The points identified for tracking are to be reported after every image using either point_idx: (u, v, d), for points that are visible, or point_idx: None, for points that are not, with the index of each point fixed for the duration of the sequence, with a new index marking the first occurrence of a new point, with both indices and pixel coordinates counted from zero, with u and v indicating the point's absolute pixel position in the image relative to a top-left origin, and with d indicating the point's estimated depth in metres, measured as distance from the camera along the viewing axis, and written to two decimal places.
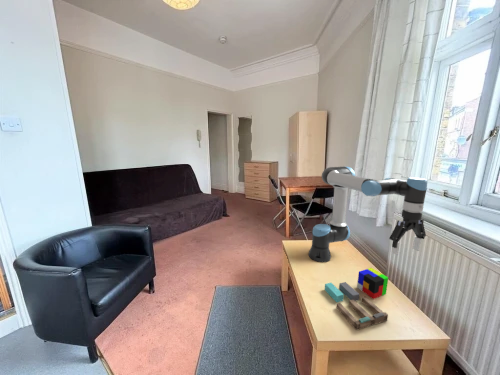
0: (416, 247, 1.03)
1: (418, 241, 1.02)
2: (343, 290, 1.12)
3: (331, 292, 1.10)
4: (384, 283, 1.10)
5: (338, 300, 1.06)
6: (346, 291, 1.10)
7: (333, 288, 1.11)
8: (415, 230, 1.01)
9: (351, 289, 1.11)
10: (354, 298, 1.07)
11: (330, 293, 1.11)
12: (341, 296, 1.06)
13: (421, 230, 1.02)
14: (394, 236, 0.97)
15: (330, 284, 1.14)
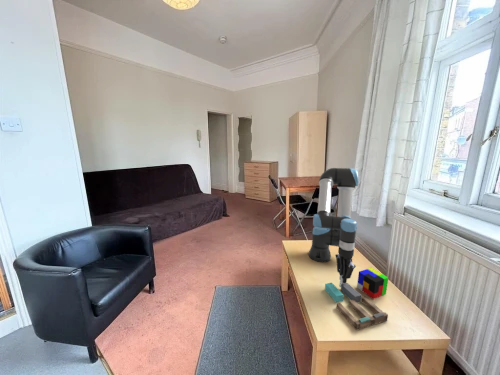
0: None
1: None
2: (345, 291, 1.11)
3: (331, 292, 1.10)
4: (384, 283, 1.10)
5: (338, 300, 1.06)
6: (348, 292, 1.09)
7: (333, 288, 1.11)
8: None
9: (353, 290, 1.10)
10: (356, 299, 1.06)
11: (330, 293, 1.11)
12: (341, 296, 1.06)
13: None
14: None
15: (330, 284, 1.14)
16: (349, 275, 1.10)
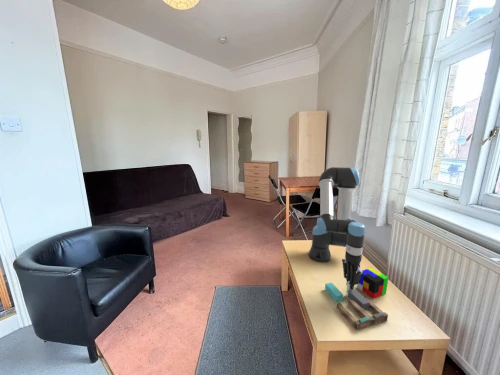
0: None
1: None
2: (353, 298, 1.06)
3: (331, 292, 1.10)
4: (384, 283, 1.10)
5: (337, 300, 1.06)
6: (356, 299, 1.04)
7: (333, 288, 1.11)
8: None
9: (360, 296, 1.05)
10: (364, 307, 1.01)
11: (330, 293, 1.11)
12: (341, 296, 1.06)
13: None
14: None
15: (330, 284, 1.14)
16: (357, 281, 1.05)
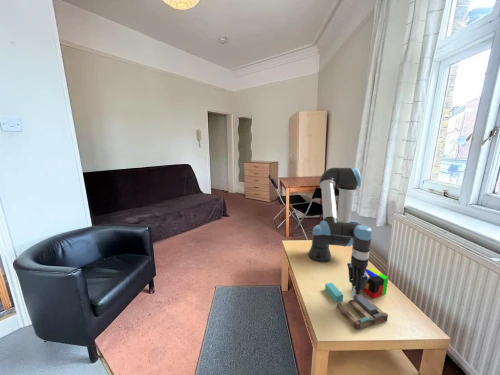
0: None
1: None
2: (359, 304, 1.03)
3: (331, 292, 1.10)
4: (384, 283, 1.10)
5: (337, 300, 1.06)
6: (362, 305, 1.01)
7: (334, 288, 1.11)
8: None
9: (367, 302, 1.01)
10: (371, 313, 0.97)
11: (330, 293, 1.11)
12: (340, 296, 1.06)
13: None
14: None
15: (330, 284, 1.14)
16: (363, 286, 1.02)
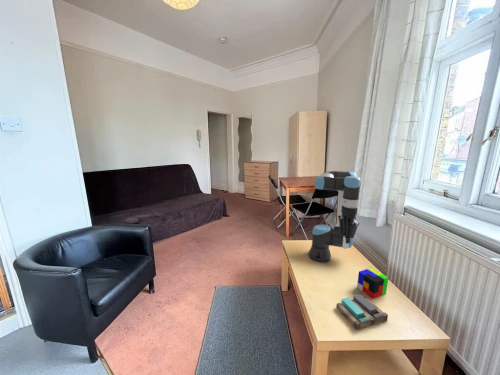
0: None
1: None
2: None
3: (349, 309, 0.98)
4: (384, 283, 1.10)
5: (358, 319, 0.95)
6: (362, 305, 1.01)
7: (352, 304, 1.00)
8: None
9: (367, 302, 1.01)
10: (371, 313, 0.97)
11: (348, 310, 0.99)
12: (361, 314, 0.95)
13: None
14: None
15: (347, 299, 1.03)
16: (353, 234, 1.07)
